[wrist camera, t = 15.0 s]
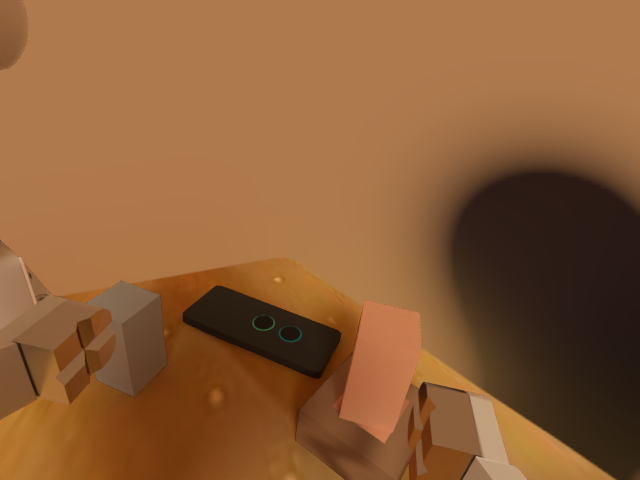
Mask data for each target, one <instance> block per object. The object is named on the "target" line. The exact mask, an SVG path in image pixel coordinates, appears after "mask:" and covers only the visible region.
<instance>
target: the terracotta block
mask: <svg viewBox="0 0 640 480" xmlns="http://www.w3.org/2000/svg"><path fill="white" fill-rule="evenodd" d="M420 336H421V335H420V313H417V312H413V311H409V310H404V309H400V308H396V307H392V306H388V305H383V304H379V303H375V302H371V301H366V300H365V301H364V305H363V310H362V314H361V318H360V323H359V327H358V331H357V336H356V340H355V344H354V349H353V353H352V357H351V362H350V366H349V371H348V375H347V380H346V385H345V390H344V395H343V400H342V405H341V410H340V415H339V418H341V419H345V420H348V421H352V422H355V423H359V424H362V425H366V426H370V427H373V428H377V429H380V430H384V431H387V432H391V433H393V431H394V428H395V426H396V423H397V420H398V417H399V414H400V411H401V408H402V406H403V403H404V400H405V397H406V394H407V391H408V389H409V386H410V383H411V380H412V377H413V374H414V372H415V369H416V366H417V363H418V360H419V357H420V355H421V337H420Z"/></svg>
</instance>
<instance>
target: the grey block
mask: <svg viewBox="0 0 640 480" xmlns="http://www.w3.org/2000/svg"><path fill="white" fill-rule="evenodd" d="M86 304H90V305H94V306H97V307H101V308H105V309H107V310H110V313H111V317H112V322H111V323H110V324H109V325H108V326H109V327H110V328H111V329H112V331H113V332H114V333H115V337H116V345H115V350H114V352H113V354H112V356H111V358H110V360H109V361H108V362H107V363H106V365H105V366H104V367H103V368H102V369H100V370H98V371H96V372H95V376H96V380H97V381H99V382H102V383H104V384H106V385H108V386H110V387H112V388H115V389H117V390H119V391H121V392H123V393H125V394H128V395H130V396H132V397H135V396H136V395H137V394H138V393H139V392H140V391H141V390H142V389H143V388H144V387H145V386H146V385H147V384H148V383H149V382H150V381H151V380H152V379H153V378H154V377H155V376H156V375H157V374H158V373H159V372H160V371H161V370H162V369H163V368H164V367H165V366H166V365H167V357H166V347H165V337H164V327H163V317H162V308H161V298H160V295H159V294H156V293H154V292H151V291H148V290H146V289H143V288H140V287H137V286H135V285H132V284H129V283H127V282H124V281H120V282H118V283H117V284H115V285H114V286H112V287H110V288H109V289H107V290H106V291H104V292H102V293H101V294H99V295H98V296H96V297H95V298H93V299H91V300H90V301H88V302H87V303H86Z"/></svg>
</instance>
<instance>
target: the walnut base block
mask: <svg viewBox="0 0 640 480" xmlns="http://www.w3.org/2000/svg"><path fill="white" fill-rule="evenodd" d="M352 353H353V352H352ZM352 353H351V354H350V355H349V356H348V357H347V358H346V359H345V360H344V362H343V363H342V364H341V365H340V366H339V367H338V368H337V369H336V370H335V371H334V372H333V374H332V375H331V376H330V377H329V378H328V379H327V380H326V381H325V382H324V383H323V384H322V385H321V387H320V388H319V389H318V390H317V391H316V392H315V393H314V394H313V395H312V396H311V397H310V399H309V400H308V401H307V402H306V403H305V404H304V405H303V406H302V407H301V408H300V410H299V417H298V424H297V430H296V437H295V440H296V441H297V442H298V443H300V444H301V445H302V446H303V447H305V448H306V449H307V450H308V451H310V452H311V453H312V454H313V455H315V456H316V457H317V458H319V459H320V460H321V461H322V462H324V463H325V464H326V465H327V466H329V467H330V468H331V469H332V470H334V471H335V472H336V473H337V474H339V475H340V476H341V477H342V478H344V479H345V480H401V478H402V476H403V474H404V472H405V470H406V468H407V466H408V464H409V461H410V458H411V456H412V454H413V451H412V450H411V448H410V447H409V445H408V423H409V417H410V413H411V410H412V407H413V404H415V403H417V402H418V401H419V397H418V391H419V388H417V387H415V386H414V385H412V384H410V386H409V389H408V391H407V394H406V397H405V400H404V403H403V406H402V408H401V411H400V414H399V417H398V420H397V423H396V426H395V428H394V431H393V433H391V432H387V431H384V430H380V429H377V428H373V427H370V426H366V425H362V424H359V423H355V422H352V421H348V420H345V419H341V418H339V415H340V410H341V405H342V400H343V395H344V390H345V385H346V380H347V375H348V371H349V366H350V362H351V357H352Z"/></svg>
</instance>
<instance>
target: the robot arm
mask: <svg viewBox="0 0 640 480" xmlns="http://www.w3.org/2000/svg"><path fill="white" fill-rule="evenodd" d="M27 38H28V18H27V13H26V9H25V6H24V3H23V0H0V70H4V69H9V68H11V67H12V66H13V65H14V64H15V63H16V62H17V60H18V59H19V58H20V56H21V55H22V53H23V51H24V49H25V46H26V42H27ZM111 322H112V317H111V313H110V310H107V309H105V308H101V307H97V306H94V305H90V304H86V303H82V302H78V301H74V300H69V299H65V298H61V297H58V296H52V295H51V294H50V292H49V291H48V290H47V289H46V288H45V287H44V286H43V284H42V283H41V282H40V281H39V280H38V279H37V277H36V276H35V275H34V274H33V273H32V272H31V271H30V269H29V268H28V267H27V266H26V265H25V264H24V262H23V259H22V258H21V257H17V256H16V254H15V253H14V252H13V251H12V250H11V249H10V248H9V247H7V246H6V245H5V244H4V243H3V242H2V241H0V420H1V419H3V418H4V417H6V416H8V415H10V414H11V413H13V412H15V411H17V410H19V409H20V408H22V407H24V406H26V405H28V404H29V403H31V402H33V401H35V400H36V399H37V397H38V398H43V399H47V400H52V401H56V402H61V403H65V404H69V405H70V404H71V403H72V401H73V400H74V399H75V398H76V397H77V396H78V395H79V394H80V393H81V392H82V390H83V389H84V388H85V387H86V386H87V385H88V384H89V383H90V374H92V373H94V372H96V371H98V370H100V369H102V368H103V367H104V366H105V365H106V363H107V362H108V361H109V360H110V358H111V356H112V354H113V352H114V350H115V345H116V337H115V333H114V332H113V331H112V329H111V328H110V327H109V326H108V325H109V324H110V323H111ZM418 397H419V401H418V402H417V403H415V404H413V407H412V410H411V413H410V417H409V423H408V445H409V447H410V448H411V450H412V451H413V454H412V456H411V458H410V461H409V480H527V478H526V477H525V476H524V475H523V474H522V472H521V471H520V470H519V469H518V468H517V466H513V465H510V464H509V461H508V458H507V454H506V451H505V447H504V444H503V440H502V437H501V433H500V430H499V426H498V423H497V419H496V416H495V412H494V408H493V405H492V401H491V399H490V398H489V397H488V396H486V395H481V394H477V393H472V392H468V391H464V390H459V389H455V388H450V387H446V386H441V385H436V384H432V383H427V382H423V383H422V384H421V386H420V389H419V391H418Z"/></svg>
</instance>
